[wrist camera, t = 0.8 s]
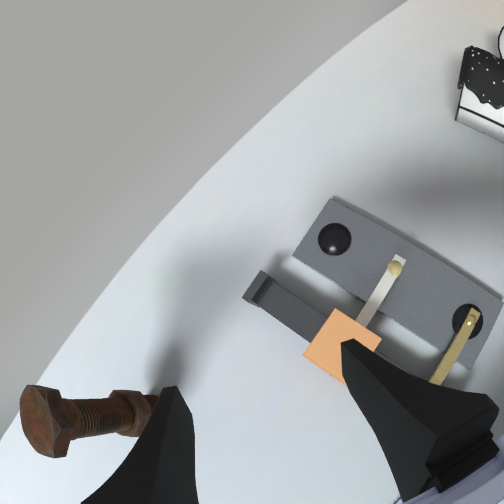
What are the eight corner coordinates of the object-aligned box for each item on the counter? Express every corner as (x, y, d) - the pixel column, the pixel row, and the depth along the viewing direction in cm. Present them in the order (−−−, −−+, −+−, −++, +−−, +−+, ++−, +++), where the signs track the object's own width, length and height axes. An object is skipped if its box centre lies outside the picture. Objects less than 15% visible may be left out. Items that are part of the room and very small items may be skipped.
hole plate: (501, 303, 21) (504, 302, 20) (468, 369, 20) (471, 369, 20) (330, 201, 29) (329, 197, 28) (293, 257, 29) (291, 254, 28)
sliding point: (418, 274, 23) (427, 261, 20) (350, 381, 23) (348, 387, 19) (379, 250, 25) (381, 234, 22) (310, 354, 24) (302, 355, 21)
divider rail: (496, 331, 20) (508, 328, 18) (438, 428, 19) (445, 436, 17) (310, 216, 29) (305, 204, 27) (252, 302, 29) (241, 297, 26)
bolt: (148, 373, 30) (26, 368, 17) (184, 398, 28) (61, 412, 15) (131, 416, 29) (15, 426, 16) (165, 442, 27) (47, 471, 14)
